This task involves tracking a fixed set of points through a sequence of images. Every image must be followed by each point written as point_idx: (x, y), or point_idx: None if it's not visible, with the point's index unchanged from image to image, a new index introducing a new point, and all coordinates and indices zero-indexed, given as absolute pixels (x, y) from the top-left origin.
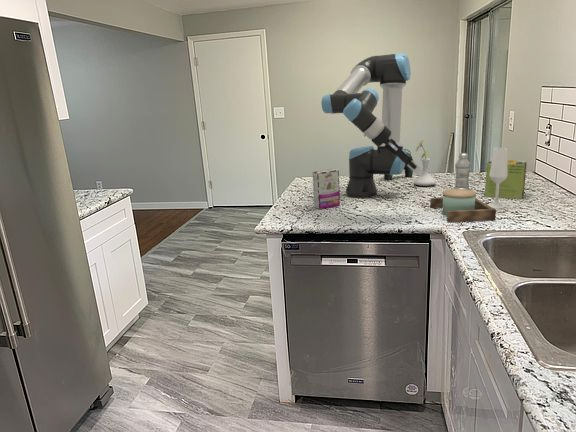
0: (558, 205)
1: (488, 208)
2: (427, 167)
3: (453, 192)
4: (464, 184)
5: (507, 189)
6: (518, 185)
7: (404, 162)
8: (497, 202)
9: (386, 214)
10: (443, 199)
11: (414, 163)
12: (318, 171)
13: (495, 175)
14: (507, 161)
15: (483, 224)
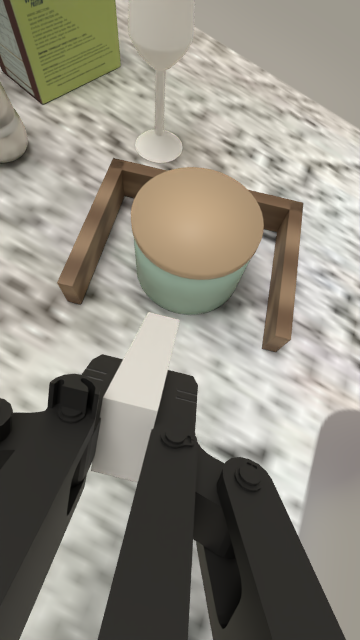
0: (208, 55)
1: (275, 207)
2: None
3: (192, 235)
4: (6, 106)
5: (87, 50)
6: (107, 23)
7: (78, 497)
8: (164, 133)
9: (76, 538)
10: (178, 285)
11: (163, 383)
12: None
13: (180, 41)
14: None
15: (321, 274)
